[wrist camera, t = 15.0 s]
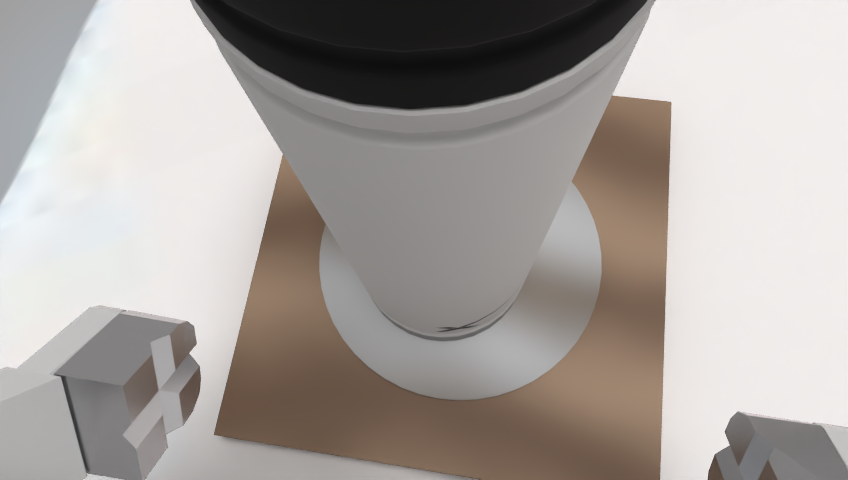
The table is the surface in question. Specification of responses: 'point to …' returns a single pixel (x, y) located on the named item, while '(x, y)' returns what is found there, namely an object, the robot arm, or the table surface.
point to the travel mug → (432, 131)
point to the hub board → (475, 338)
